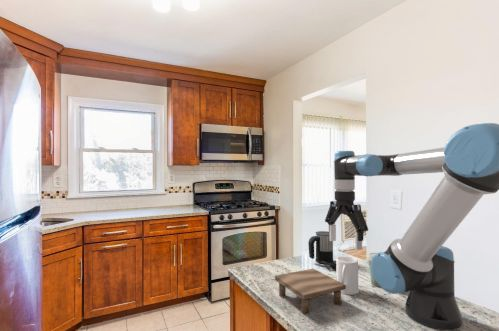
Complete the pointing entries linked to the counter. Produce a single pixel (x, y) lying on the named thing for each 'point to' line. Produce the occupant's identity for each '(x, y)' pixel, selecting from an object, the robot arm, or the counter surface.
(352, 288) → the mug
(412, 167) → the robot arm
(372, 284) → the coffee cup
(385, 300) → the counter surface
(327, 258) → the milk frother
